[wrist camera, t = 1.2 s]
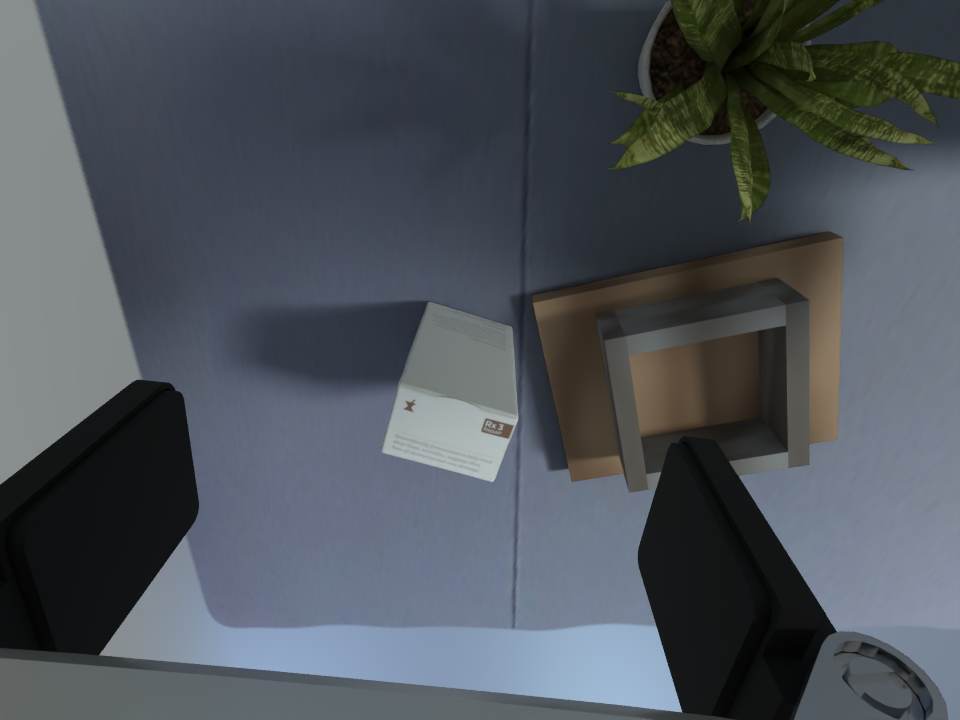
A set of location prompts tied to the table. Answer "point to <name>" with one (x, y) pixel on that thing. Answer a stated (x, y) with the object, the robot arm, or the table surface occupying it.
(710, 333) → the socket
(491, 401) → the skincare box
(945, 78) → the house plant
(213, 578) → the table surface
